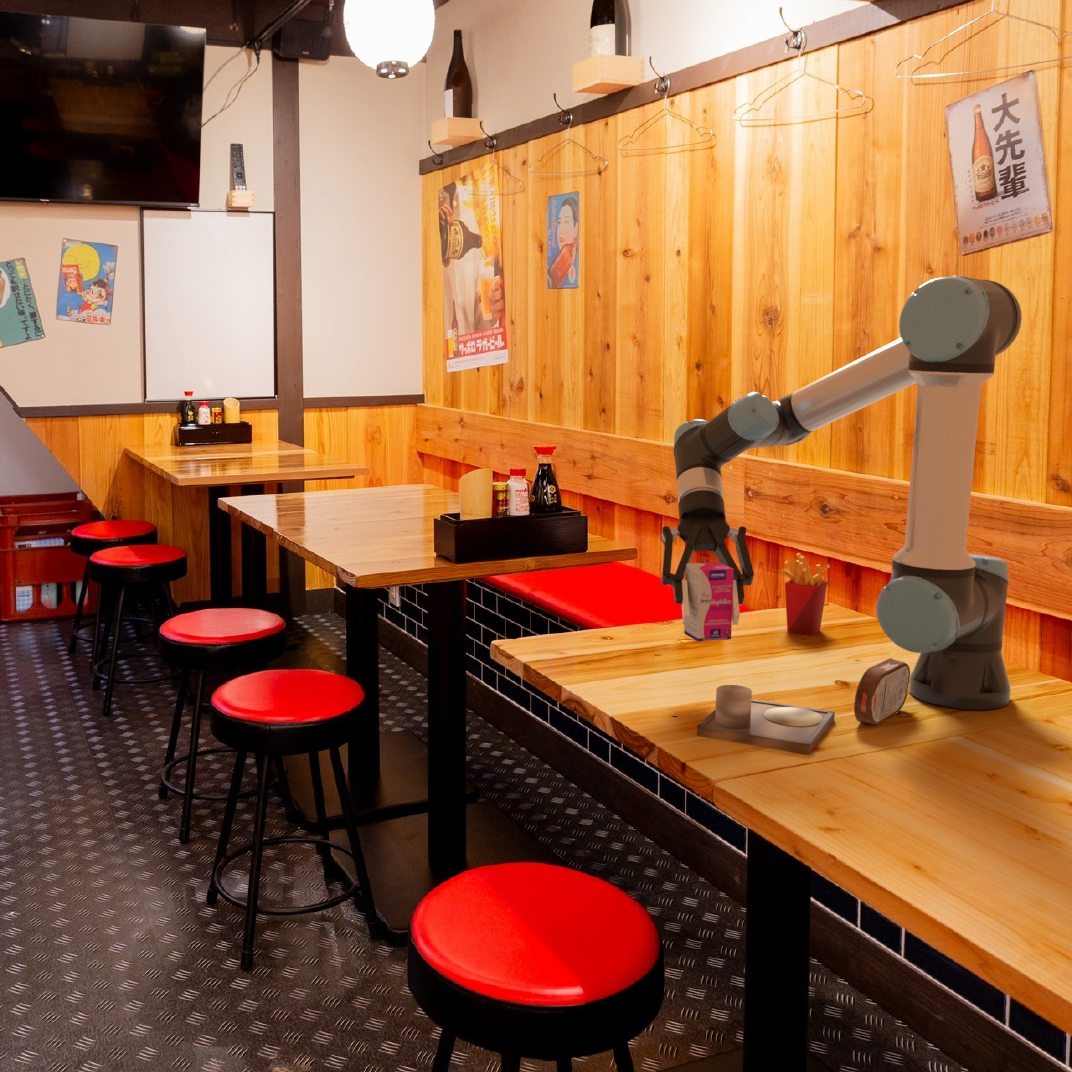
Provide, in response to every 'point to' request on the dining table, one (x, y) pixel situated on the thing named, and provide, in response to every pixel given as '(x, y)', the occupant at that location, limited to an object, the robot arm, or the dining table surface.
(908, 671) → the tin
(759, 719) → the board
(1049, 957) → the dining table surface
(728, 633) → the supplement box
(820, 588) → the french fries
